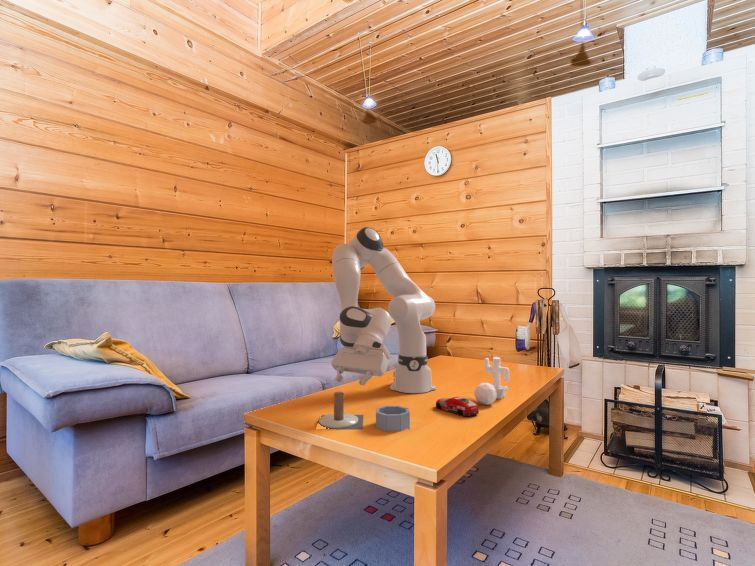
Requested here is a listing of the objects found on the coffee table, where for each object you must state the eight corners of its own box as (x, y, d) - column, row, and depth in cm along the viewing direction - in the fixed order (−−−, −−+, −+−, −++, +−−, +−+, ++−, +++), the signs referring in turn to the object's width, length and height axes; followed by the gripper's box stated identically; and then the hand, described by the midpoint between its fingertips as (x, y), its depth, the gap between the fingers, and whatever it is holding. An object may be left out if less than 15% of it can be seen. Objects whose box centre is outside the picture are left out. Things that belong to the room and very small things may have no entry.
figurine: (506, 400, 158) (506, 360, 158) (481, 397, 163) (481, 357, 163) (511, 396, 164) (511, 357, 164) (487, 393, 169) (487, 355, 169)
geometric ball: (483, 413, 152) (473, 397, 149) (478, 399, 159) (468, 384, 157) (502, 403, 150) (492, 387, 148) (497, 390, 158) (487, 374, 155)
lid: (321, 416, 138) (321, 388, 138) (358, 416, 138) (358, 388, 138) (316, 428, 126) (316, 398, 126) (357, 428, 126) (357, 398, 126)
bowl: (375, 421, 134) (375, 405, 134) (407, 421, 134) (407, 405, 134) (376, 432, 124) (376, 415, 124) (410, 432, 124) (410, 415, 124)
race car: (431, 408, 150) (431, 394, 150) (445, 404, 154) (445, 391, 154) (467, 419, 137) (467, 404, 137) (481, 415, 141) (481, 400, 141)
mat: (320, 416, 140) (320, 415, 140) (363, 415, 140) (363, 414, 140) (314, 430, 126) (314, 429, 126) (362, 430, 126) (362, 429, 126)
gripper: (338, 340, 151) (320, 373, 142) (388, 345, 140) (371, 380, 131) (346, 351, 154) (328, 383, 146) (395, 356, 143) (379, 392, 135)
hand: (349, 382), depth 139 cm, fingers open, 8 cm apart
